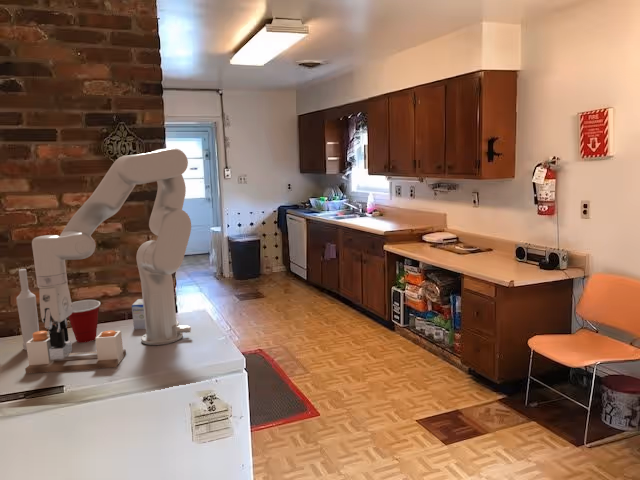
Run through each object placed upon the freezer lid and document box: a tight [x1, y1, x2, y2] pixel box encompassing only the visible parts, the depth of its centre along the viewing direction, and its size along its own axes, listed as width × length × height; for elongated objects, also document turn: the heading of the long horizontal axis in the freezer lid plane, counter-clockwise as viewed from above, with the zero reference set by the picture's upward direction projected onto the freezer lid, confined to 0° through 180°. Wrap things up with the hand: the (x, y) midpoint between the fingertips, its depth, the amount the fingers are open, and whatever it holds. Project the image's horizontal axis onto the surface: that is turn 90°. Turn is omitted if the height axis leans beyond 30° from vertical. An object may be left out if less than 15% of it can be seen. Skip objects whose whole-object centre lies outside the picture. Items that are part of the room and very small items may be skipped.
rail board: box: [24, 348, 127, 374], centre depth 150 cm, size 24×10×2 cm, turn 94°
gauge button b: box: [33, 330, 48, 342], centre depth 148 cm, size 4×4×2 cm
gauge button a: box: [100, 329, 116, 337], centre depth 149 cm, size 4×4×2 cm
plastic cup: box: [68, 299, 101, 344], centre depth 169 cm, size 11×11×12 cm
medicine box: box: [131, 298, 146, 330], centre depth 182 cm, size 8×4×9 cm, turn 5°
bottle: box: [16, 268, 40, 351], centre depth 163 cm, size 5×5×25 cm
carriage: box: [49, 328, 73, 360], centre depth 148 cm, size 4×6×8 cm, turn 4°
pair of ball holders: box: [26, 330, 125, 366], centre depth 149 cm, size 24×5×8 cm, turn 94°
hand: (59, 343), depth 148 cm, fingers closed on carriage, 2 cm apart
